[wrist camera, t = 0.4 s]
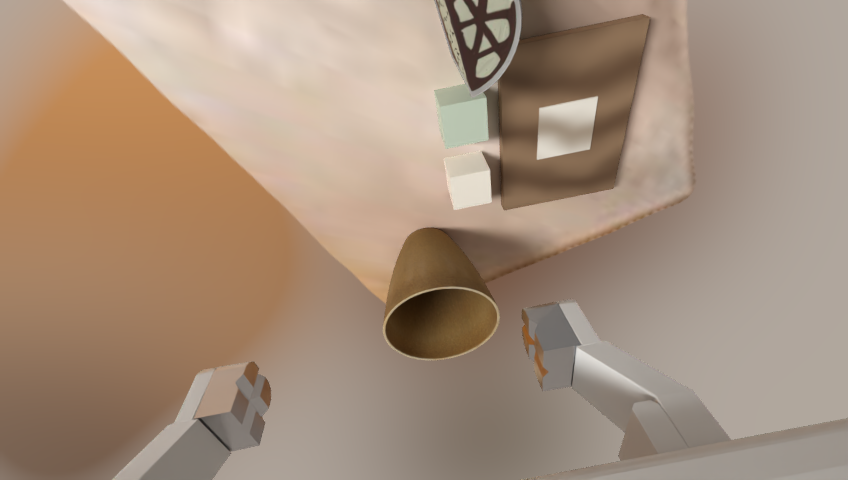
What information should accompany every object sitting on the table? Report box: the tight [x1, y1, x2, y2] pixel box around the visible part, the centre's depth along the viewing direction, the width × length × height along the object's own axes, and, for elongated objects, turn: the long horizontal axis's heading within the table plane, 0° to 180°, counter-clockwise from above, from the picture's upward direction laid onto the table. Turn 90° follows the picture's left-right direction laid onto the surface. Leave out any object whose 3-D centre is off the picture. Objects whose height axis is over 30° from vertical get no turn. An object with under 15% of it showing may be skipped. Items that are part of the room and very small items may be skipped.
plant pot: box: [383, 228, 500, 360], centre depth 53 cm, size 15×15×16 cm
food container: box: [434, 0, 522, 98], centre depth 34 cm, size 12×6×10 cm, turn 21°
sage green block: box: [434, 84, 489, 149], centre depth 43 cm, size 5×5×5 cm
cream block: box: [444, 151, 492, 210], centre depth 49 cm, size 5×5×5 cm
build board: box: [498, 14, 650, 210], centre depth 47 cm, size 22×16×2 cm
